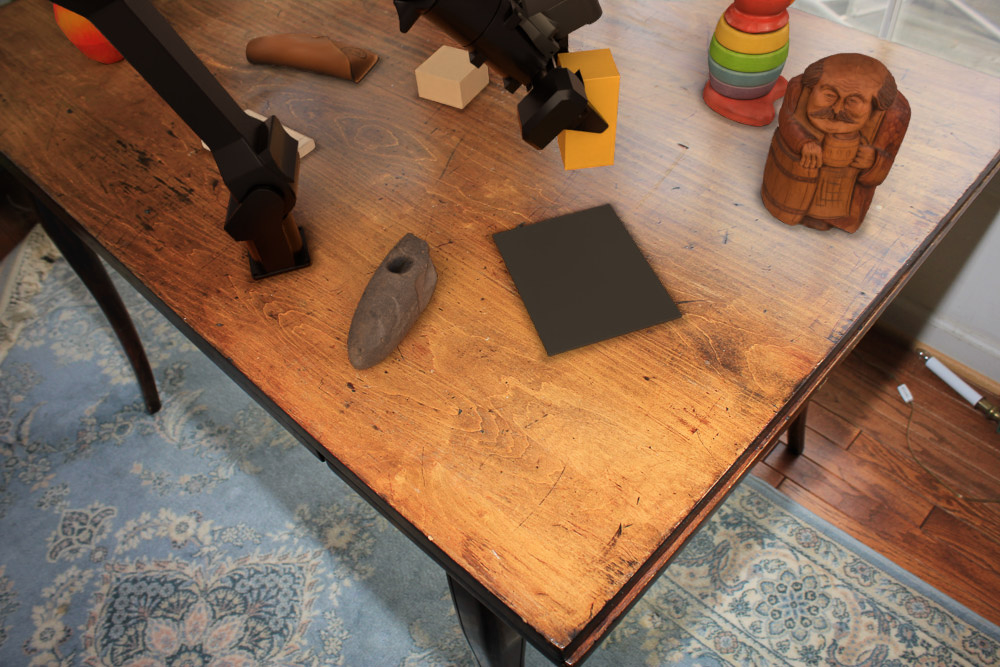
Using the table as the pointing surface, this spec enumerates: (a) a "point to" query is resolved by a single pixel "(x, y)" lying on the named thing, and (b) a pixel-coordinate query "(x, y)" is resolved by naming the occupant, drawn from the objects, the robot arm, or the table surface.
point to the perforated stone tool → (391, 302)
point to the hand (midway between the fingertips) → (599, 113)
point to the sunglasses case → (311, 55)
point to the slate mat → (583, 279)
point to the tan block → (450, 77)
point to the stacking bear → (748, 60)
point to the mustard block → (604, 97)
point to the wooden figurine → (834, 142)
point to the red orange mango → (86, 36)
